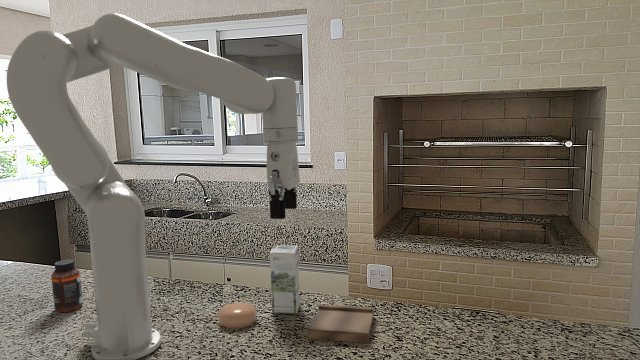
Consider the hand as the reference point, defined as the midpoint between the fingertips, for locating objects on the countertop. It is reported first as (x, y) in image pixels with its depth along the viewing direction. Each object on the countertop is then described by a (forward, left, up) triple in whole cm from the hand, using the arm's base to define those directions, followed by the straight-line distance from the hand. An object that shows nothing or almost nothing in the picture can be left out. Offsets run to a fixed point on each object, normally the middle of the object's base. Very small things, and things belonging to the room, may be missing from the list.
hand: (284, 213), depth 107 cm
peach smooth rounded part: (-9, -7, -23) cm, 25 cm away
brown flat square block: (+14, -7, -22) cm, 27 cm away
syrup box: (0, 0, -23) cm, 23 cm away
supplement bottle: (-51, -7, -23) cm, 56 cm away
